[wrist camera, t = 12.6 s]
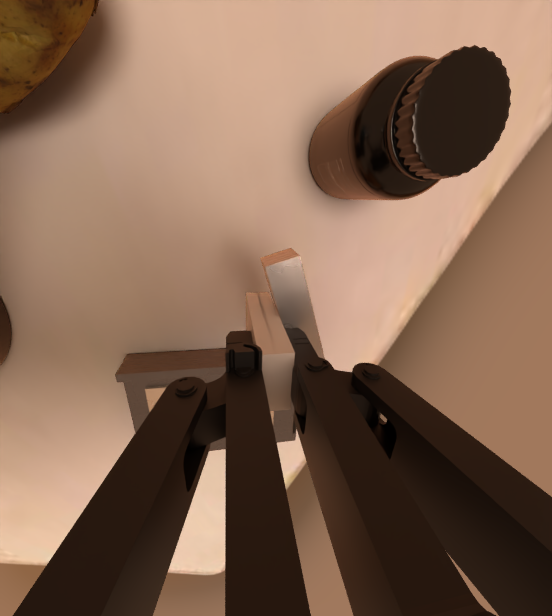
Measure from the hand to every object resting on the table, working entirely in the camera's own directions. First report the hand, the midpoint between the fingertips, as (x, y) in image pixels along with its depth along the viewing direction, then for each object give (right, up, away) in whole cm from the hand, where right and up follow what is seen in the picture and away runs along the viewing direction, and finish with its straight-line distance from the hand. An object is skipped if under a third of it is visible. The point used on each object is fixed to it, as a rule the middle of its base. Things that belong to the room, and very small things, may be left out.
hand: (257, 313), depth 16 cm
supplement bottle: (+7, +13, +6) cm, 16 cm away
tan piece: (+3, -3, +5) cm, 6 cm away
